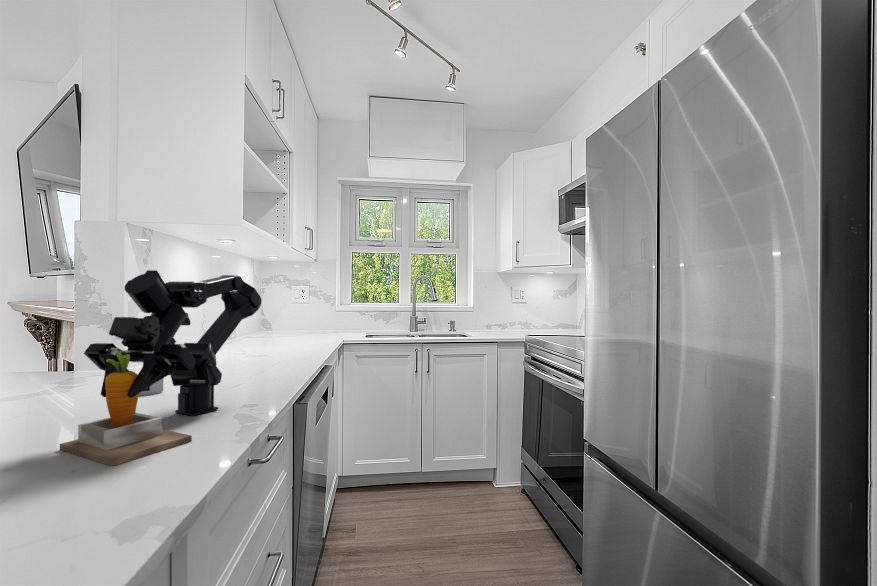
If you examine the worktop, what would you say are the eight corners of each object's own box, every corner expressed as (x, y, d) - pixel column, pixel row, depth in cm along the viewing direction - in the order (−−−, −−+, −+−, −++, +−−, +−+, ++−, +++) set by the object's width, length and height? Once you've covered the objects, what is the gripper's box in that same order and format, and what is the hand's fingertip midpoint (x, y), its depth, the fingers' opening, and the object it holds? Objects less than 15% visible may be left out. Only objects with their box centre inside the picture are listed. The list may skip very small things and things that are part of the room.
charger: (160, 384, 130) (163, 393, 118) (122, 388, 125) (121, 398, 113) (160, 368, 130) (163, 376, 118) (122, 371, 125) (121, 380, 113)
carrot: (135, 436, 76) (134, 352, 76) (101, 441, 74) (100, 354, 74) (142, 428, 81) (141, 349, 81) (110, 432, 79) (108, 350, 79)
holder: (139, 428, 86) (140, 408, 86) (191, 441, 79) (191, 419, 79) (59, 449, 74) (60, 426, 74) (112, 466, 67) (112, 440, 67)
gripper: (92, 301, 82) (34, 369, 71) (185, 301, 81) (141, 371, 70) (125, 337, 90) (77, 404, 79) (211, 338, 89) (174, 406, 78)
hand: (116, 396), depth 76 cm, fingers closed on carrot, 5 cm apart
